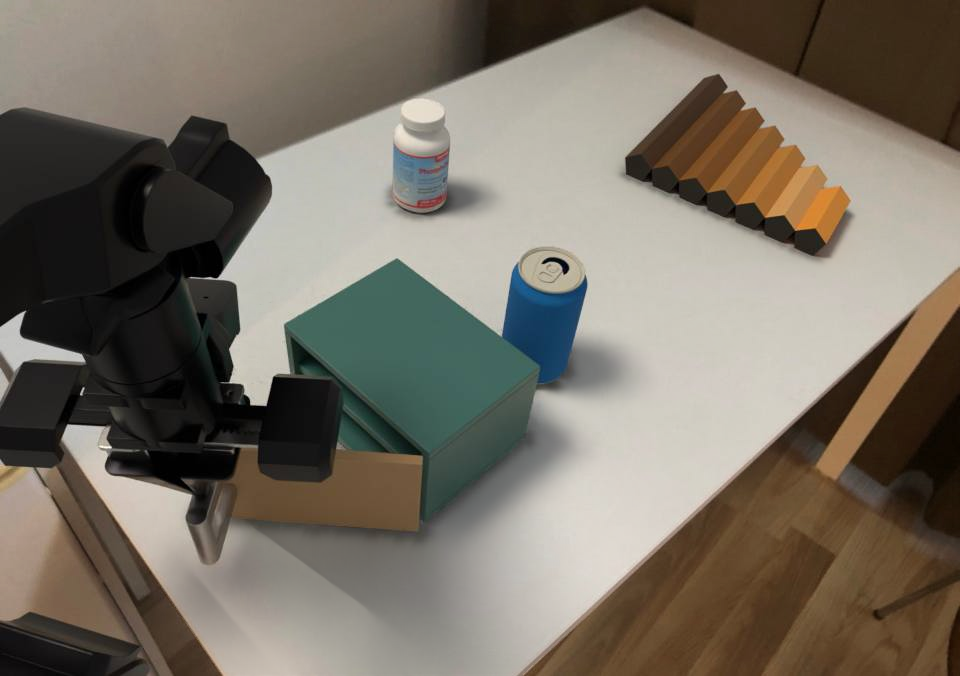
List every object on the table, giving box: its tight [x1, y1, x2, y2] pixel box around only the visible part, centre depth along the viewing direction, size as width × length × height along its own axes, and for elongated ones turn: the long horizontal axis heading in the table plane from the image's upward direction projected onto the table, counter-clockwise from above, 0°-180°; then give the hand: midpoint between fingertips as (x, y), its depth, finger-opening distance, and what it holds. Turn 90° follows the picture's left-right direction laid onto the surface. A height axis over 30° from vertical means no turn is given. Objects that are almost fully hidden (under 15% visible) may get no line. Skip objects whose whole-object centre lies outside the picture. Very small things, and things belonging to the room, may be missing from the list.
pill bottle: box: [392, 98, 451, 214], centre depth 86 cm, size 6×6×11 cm
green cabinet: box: [283, 257, 540, 523], centre depth 66 cm, size 12×17×10 cm
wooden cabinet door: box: [184, 448, 423, 566], centre depth 56 cm, size 6×17×9 cm, turn 88°
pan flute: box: [624, 73, 852, 257], centre depth 99 cm, size 25×3×25 cm
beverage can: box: [501, 245, 589, 385], centre depth 70 cm, size 6×6×12 cm
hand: (203, 489), depth 52 cm, fingers closed, pressing on wooden cabinet door
